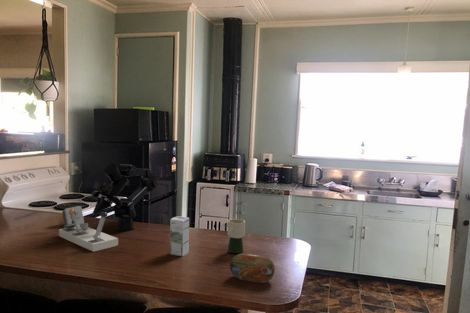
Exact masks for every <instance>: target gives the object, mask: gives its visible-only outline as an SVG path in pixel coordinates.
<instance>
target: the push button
mask: <svg viewBox="0 0 470 313" xmlns="http://www.w3.org/2000/svg"><path fill="white" fill-rule="evenodd" d="M80 227H81V229H82V230H84V229H88V227H89V223H87V222H84V223H82V224H80Z"/></svg>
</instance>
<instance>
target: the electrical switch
mask: <svg viewBox="0 0 470 313" xmlns="http://www.w3.org/2000/svg"><path fill="white" fill-rule="evenodd" d="M82 208H83V207H82V205H78V206H72V207H67V208H64V210H62V212H61V213H62V217H63V223H64V225H68V224H74V222H73V219H72V217H71V215H70V214H69V213H68V211H69V210H70V209H74V210H75V215H76V218H77V220H78V222H79V225H80V224H82V223H85V219H84V215H83V214H84V212H83V209H82ZM74 225H75V224H74Z"/></svg>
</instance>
